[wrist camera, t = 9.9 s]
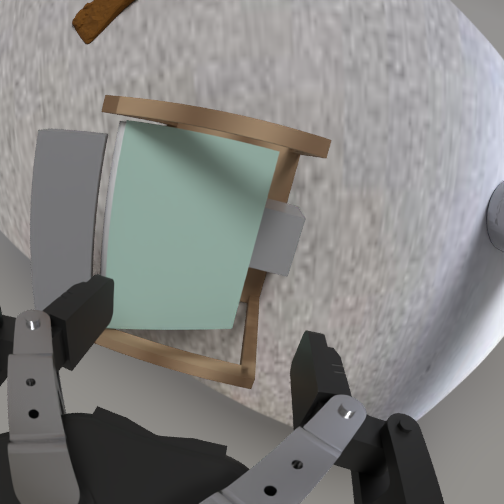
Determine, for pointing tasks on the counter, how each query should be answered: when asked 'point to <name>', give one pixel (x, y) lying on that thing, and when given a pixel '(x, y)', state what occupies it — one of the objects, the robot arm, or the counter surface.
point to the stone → (277, 237)
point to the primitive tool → (97, 17)
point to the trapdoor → (149, 221)
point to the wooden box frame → (243, 375)
